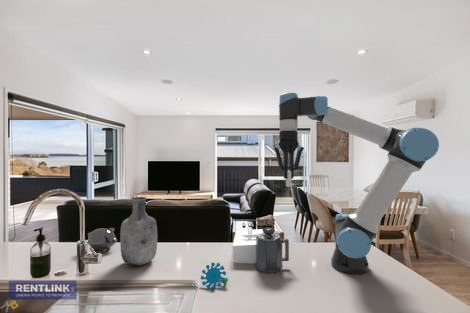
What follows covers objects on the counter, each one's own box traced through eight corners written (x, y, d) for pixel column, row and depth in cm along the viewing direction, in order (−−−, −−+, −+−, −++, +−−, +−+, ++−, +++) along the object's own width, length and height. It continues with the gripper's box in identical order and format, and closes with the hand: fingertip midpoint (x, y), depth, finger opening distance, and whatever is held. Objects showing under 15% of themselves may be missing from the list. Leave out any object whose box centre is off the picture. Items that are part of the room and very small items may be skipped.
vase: (112, 268, 118) (111, 200, 117) (136, 254, 133) (135, 194, 133) (143, 272, 113) (142, 202, 113) (164, 258, 128) (163, 196, 128)
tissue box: (234, 264, 121) (232, 240, 121) (237, 246, 146) (235, 226, 146) (265, 263, 120) (264, 239, 120) (263, 244, 145) (262, 224, 145)
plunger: (275, 257, 120) (275, 226, 120) (279, 264, 112) (279, 231, 112) (258, 257, 119) (258, 227, 119) (261, 265, 111) (261, 232, 111)
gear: (195, 282, 101) (207, 258, 107) (200, 288, 105) (212, 264, 111) (220, 293, 96) (231, 267, 101) (224, 299, 100) (235, 273, 106)
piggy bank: (111, 255, 133) (110, 232, 132) (81, 254, 133) (81, 232, 133) (121, 247, 144) (121, 225, 144) (94, 246, 145) (94, 225, 144)
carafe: (284, 261, 122) (284, 231, 122) (291, 272, 111) (291, 239, 111) (254, 263, 121) (254, 232, 120) (258, 274, 110) (258, 240, 110)
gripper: (300, 131, 117) (300, 185, 117) (271, 131, 116) (271, 185, 116) (306, 129, 109) (306, 187, 110) (275, 129, 108) (275, 187, 108)
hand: (288, 186), depth 113 cm, fingers closed
